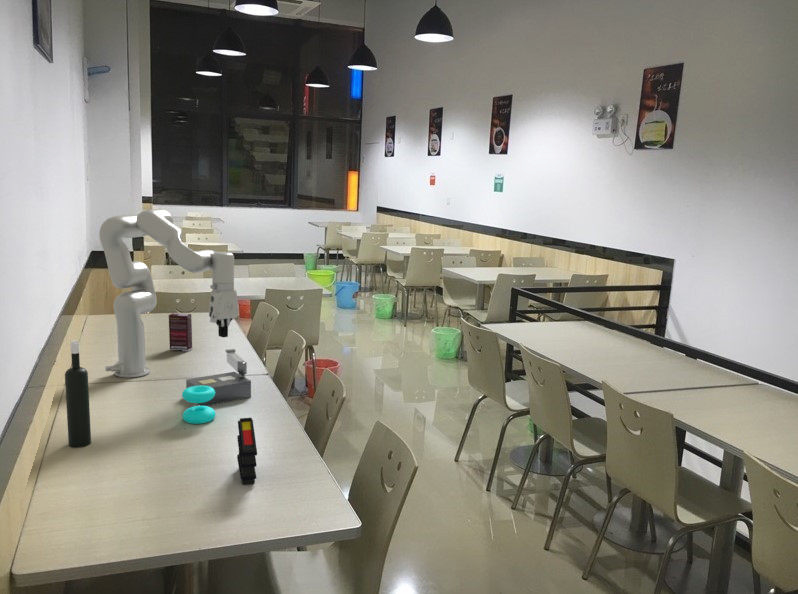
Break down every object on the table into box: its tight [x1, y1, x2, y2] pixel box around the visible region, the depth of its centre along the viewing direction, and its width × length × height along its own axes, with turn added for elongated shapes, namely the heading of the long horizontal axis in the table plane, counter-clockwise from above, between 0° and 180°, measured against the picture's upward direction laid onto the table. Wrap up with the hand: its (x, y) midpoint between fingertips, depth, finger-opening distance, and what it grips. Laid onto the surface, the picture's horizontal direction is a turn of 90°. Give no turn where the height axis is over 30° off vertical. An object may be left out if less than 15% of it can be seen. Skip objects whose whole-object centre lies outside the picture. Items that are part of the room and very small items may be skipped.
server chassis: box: [185, 371, 252, 406], centre depth 232 cm, size 20×13×7 cm, turn 129°
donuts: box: [181, 385, 217, 425], centre depth 210 cm, size 10×10×10 cm
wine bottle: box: [64, 339, 92, 449], centre depth 186 cm, size 6×6×30 cm
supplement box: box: [168, 312, 193, 352], centre depth 290 cm, size 9×5×16 cm, turn 84°
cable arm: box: [225, 348, 248, 375], centre depth 243 cm, size 18×3×5 cm, turn 29°
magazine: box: [236, 417, 258, 486], centre depth 171 cm, size 4×13×15 cm, turn 18°
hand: (223, 336), depth 242 cm, fingers closed
